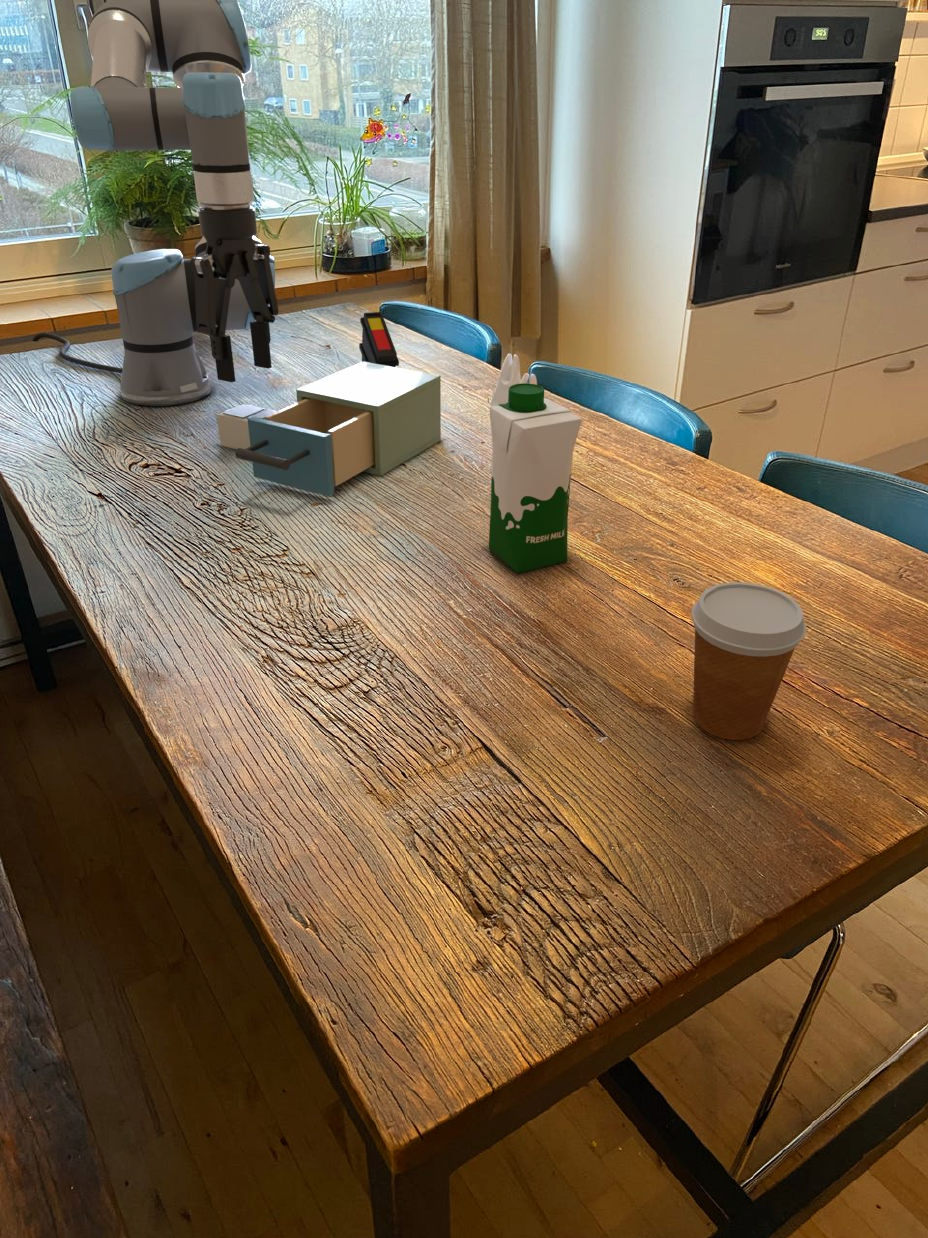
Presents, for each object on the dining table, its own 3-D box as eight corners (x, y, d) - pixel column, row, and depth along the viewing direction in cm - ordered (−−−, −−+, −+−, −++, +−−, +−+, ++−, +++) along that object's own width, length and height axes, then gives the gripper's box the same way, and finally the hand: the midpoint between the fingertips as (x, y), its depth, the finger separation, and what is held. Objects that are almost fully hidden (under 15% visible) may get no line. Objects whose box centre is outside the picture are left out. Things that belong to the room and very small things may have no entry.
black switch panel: (376, 379, 165) (382, 310, 152) (394, 431, 158) (402, 363, 146) (355, 380, 164) (360, 311, 151) (373, 433, 157) (379, 365, 145)
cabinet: (380, 476, 131) (378, 406, 126) (301, 456, 137) (295, 389, 132) (440, 440, 144) (440, 375, 138) (365, 424, 150) (362, 361, 144)
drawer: (302, 512, 118) (297, 450, 114) (225, 491, 124) (217, 431, 119) (393, 459, 134) (391, 403, 130) (321, 442, 139) (317, 388, 135)
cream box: (220, 445, 141) (215, 412, 138) (246, 433, 145) (242, 401, 142) (260, 455, 137) (257, 422, 134) (286, 443, 142) (283, 410, 139)
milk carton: (539, 533, 116) (548, 377, 105) (578, 563, 109) (593, 400, 99) (478, 547, 112) (482, 387, 102) (515, 579, 106) (523, 412, 95)
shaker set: (488, 414, 154) (490, 348, 148) (511, 411, 156) (513, 346, 150) (518, 438, 145) (521, 368, 139) (542, 435, 146) (546, 366, 140)
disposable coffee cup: (662, 690, 87) (679, 581, 81) (759, 686, 88) (783, 577, 82) (692, 755, 79) (713, 639, 73) (798, 749, 80) (828, 634, 74)
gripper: (254, 195, 132) (269, 353, 144) (149, 211, 117) (176, 387, 129) (295, 199, 129) (307, 360, 141) (193, 216, 114) (217, 395, 126)
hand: (245, 373), depth 135 cm, fingers open, 7 cm apart
